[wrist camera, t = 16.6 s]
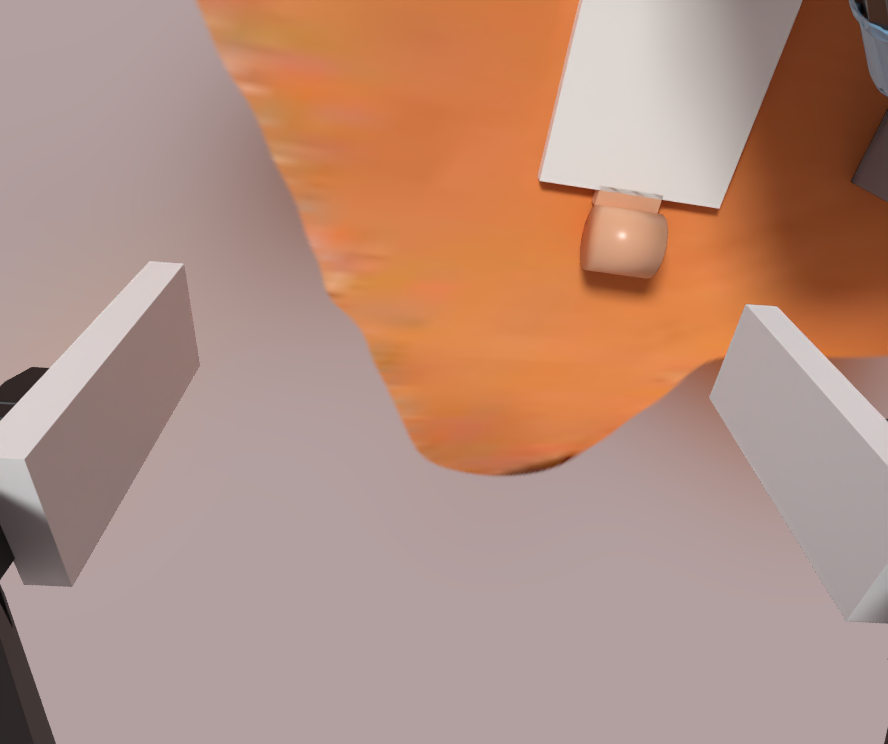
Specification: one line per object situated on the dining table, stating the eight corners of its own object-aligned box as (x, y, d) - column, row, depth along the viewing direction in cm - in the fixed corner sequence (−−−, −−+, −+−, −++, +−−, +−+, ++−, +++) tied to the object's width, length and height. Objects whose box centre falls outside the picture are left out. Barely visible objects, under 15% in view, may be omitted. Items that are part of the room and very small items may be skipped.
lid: (609, -133, 34) (631, -144, 30) (828, -88, 35) (875, -93, 31) (521, 247, 45) (528, 272, 42) (687, 270, 47) (709, 297, 43)
